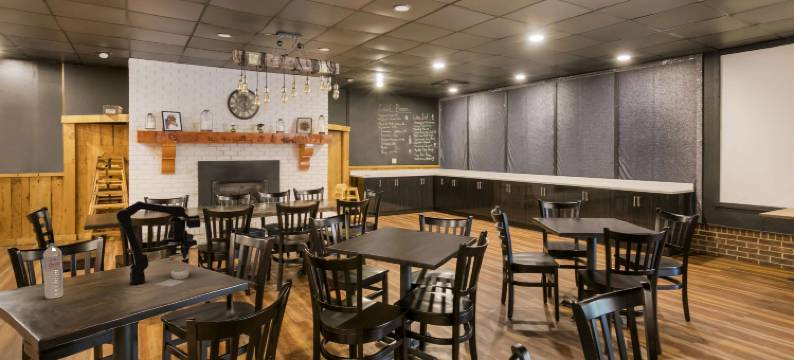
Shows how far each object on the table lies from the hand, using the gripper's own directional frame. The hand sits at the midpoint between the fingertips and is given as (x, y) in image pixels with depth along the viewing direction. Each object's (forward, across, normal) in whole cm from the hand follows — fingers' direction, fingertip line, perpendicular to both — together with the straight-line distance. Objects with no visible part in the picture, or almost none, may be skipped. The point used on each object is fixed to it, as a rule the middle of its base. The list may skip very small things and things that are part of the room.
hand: (179, 258), depth 241 cm
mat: (+11, -3, +10) cm, 15 cm away
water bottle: (+11, +31, +44) cm, 55 cm away
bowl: (+11, 0, 0) cm, 11 cm away
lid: (0, 0, 0) cm, 0 cm away
